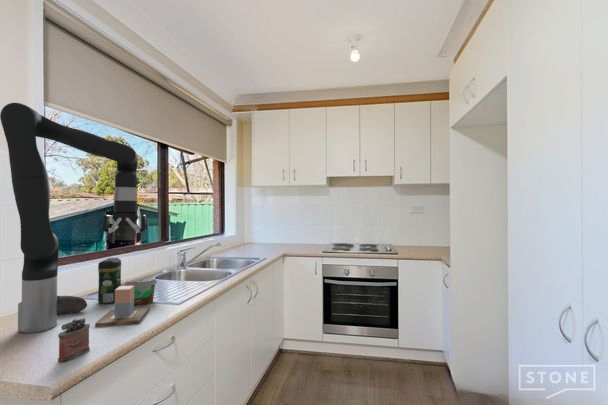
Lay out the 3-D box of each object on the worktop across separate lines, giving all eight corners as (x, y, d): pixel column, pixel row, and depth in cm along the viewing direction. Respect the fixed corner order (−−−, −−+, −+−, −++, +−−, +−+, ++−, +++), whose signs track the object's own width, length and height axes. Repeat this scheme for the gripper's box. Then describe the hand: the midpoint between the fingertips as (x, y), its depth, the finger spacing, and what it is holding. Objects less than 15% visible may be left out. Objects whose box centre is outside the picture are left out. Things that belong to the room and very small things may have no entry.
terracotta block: (114, 303, 111) (114, 289, 111) (119, 299, 116) (119, 286, 116) (129, 302, 112) (130, 289, 112) (134, 298, 117) (134, 285, 117)
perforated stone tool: (89, 309, 122) (89, 292, 122) (83, 314, 117) (83, 296, 117) (46, 312, 119) (46, 294, 119) (37, 317, 113) (38, 298, 114)
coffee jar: (103, 298, 137) (104, 256, 137) (123, 296, 139) (123, 256, 139) (94, 305, 127) (95, 260, 127) (116, 303, 129) (116, 260, 129)
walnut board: (95, 326, 105) (95, 323, 105) (110, 312, 119) (110, 309, 119) (139, 323, 108) (139, 319, 108) (149, 310, 122) (149, 306, 122)
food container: (120, 308, 124) (120, 283, 124) (125, 303, 130) (125, 280, 130) (153, 305, 127) (153, 282, 127) (156, 301, 133) (156, 278, 133)
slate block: (114, 317, 111) (114, 303, 111) (119, 312, 116) (119, 299, 116) (129, 316, 112) (129, 302, 112) (133, 311, 117) (134, 298, 117)
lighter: (83, 348, 90) (84, 314, 90) (92, 350, 89) (93, 315, 89) (54, 361, 82) (55, 324, 82) (63, 363, 81) (64, 326, 81)
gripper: (149, 200, 119) (148, 241, 119) (108, 199, 116) (107, 242, 116) (143, 199, 112) (143, 243, 112) (100, 199, 108) (99, 244, 108)
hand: (125, 242), depth 114 cm, fingers open, 8 cm apart
